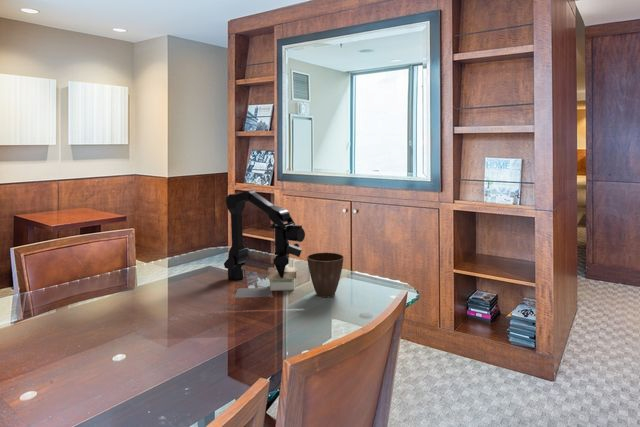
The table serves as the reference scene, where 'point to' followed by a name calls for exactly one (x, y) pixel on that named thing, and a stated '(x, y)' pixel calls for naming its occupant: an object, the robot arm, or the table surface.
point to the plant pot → (325, 272)
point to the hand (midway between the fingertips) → (282, 275)
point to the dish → (281, 284)
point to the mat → (252, 292)
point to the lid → (288, 273)
